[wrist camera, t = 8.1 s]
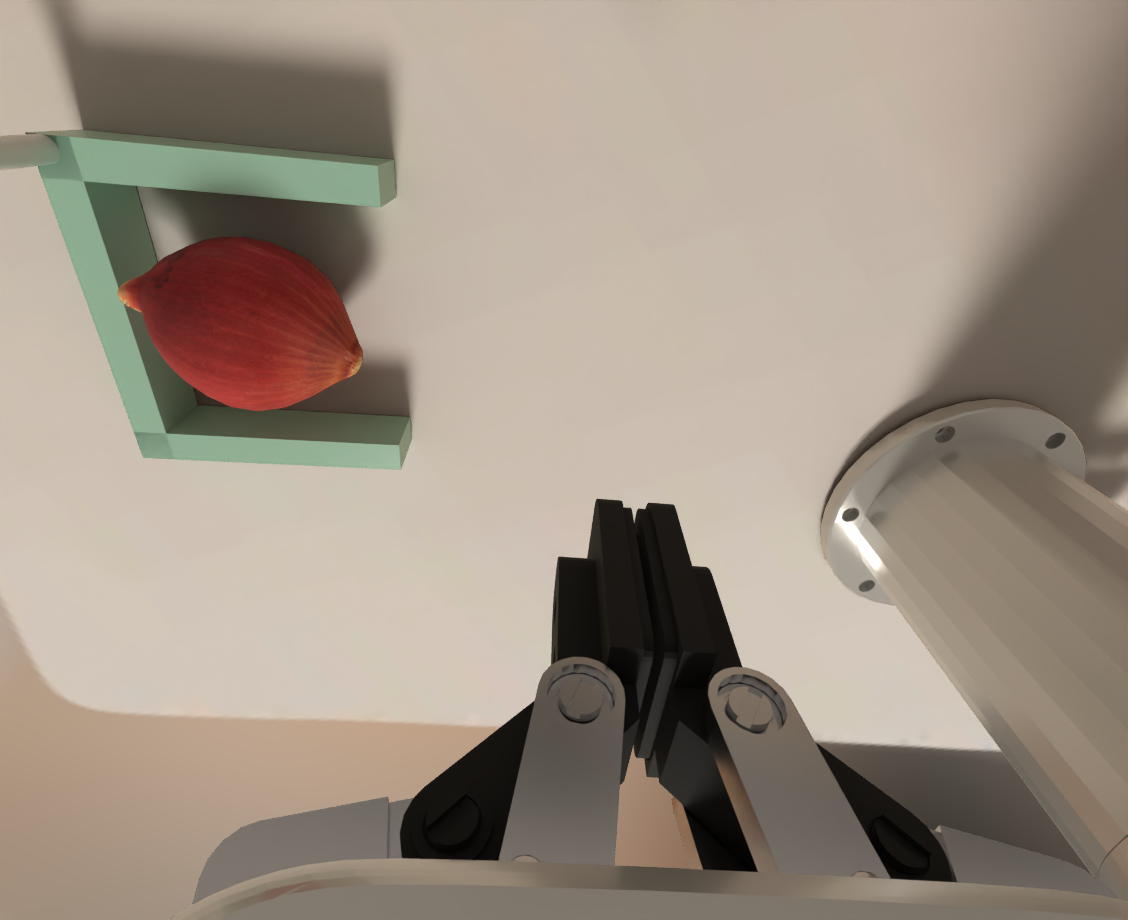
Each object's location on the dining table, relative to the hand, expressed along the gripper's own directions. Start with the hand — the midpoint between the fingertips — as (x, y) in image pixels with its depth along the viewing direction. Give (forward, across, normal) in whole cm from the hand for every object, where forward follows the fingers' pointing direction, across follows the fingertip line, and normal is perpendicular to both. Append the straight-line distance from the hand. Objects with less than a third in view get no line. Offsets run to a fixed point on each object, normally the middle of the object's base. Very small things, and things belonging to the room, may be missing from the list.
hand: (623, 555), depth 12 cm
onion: (+10, +9, 0) cm, 13 cm away
